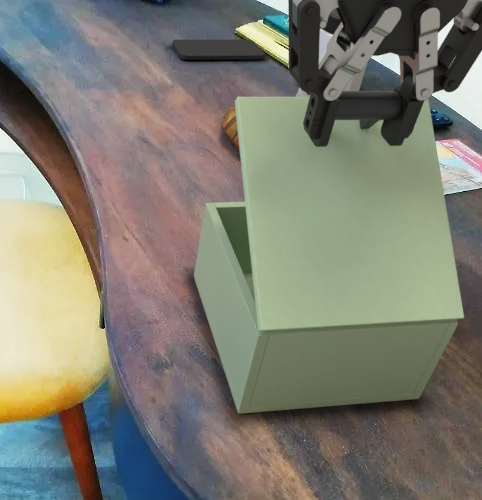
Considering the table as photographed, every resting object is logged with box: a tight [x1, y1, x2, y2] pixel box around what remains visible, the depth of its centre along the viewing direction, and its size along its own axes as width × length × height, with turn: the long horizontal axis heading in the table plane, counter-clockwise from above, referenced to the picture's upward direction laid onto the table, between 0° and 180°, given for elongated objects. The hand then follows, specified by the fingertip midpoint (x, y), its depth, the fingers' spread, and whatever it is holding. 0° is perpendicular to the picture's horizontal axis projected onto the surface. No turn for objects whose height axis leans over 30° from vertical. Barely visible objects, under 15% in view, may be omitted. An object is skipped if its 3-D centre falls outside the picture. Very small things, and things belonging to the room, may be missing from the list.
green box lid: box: [234, 90, 465, 331], centre depth 46 cm, size 17×16×5 cm
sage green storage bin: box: [193, 201, 459, 415], centre depth 56 cm, size 17×16×9 cm
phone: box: [171, 39, 265, 61], centre depth 110 cm, size 7×1×15 cm
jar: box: [319, 9, 368, 91], centre depth 99 cm, size 9×8×12 cm
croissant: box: [221, 105, 240, 155], centre depth 85 cm, size 14×7×5 cm, turn 7°
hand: (354, 139), depth 47 cm, fingers closed on green box lid, 5 cm apart
